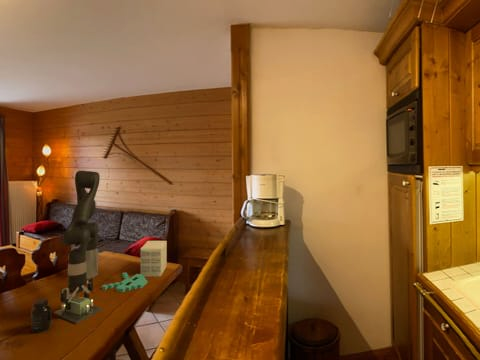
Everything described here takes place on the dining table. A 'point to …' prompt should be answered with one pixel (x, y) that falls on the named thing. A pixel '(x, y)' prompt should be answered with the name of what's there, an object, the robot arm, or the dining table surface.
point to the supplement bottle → (40, 316)
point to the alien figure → (128, 283)
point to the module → (78, 305)
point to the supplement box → (153, 258)
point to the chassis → (76, 317)
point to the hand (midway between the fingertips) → (77, 305)
